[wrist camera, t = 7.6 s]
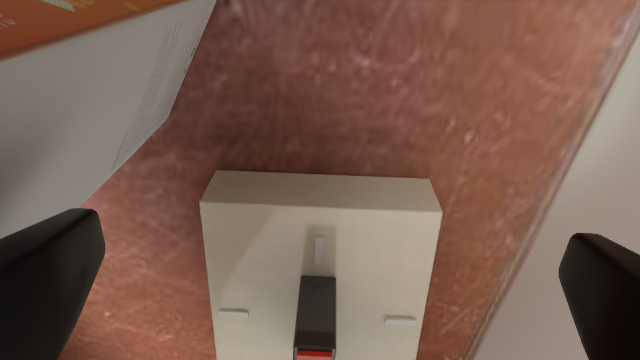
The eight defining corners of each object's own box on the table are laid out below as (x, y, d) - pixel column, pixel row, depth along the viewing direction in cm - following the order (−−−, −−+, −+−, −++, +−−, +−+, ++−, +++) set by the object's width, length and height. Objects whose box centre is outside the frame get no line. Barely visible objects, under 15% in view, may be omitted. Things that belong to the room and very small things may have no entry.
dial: (330, 355, 22) (329, 439, 18) (298, 353, 22) (290, 437, 18) (336, 276, 20) (336, 353, 16) (300, 274, 20) (292, 351, 16)
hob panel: (231, 350, 27) (219, 398, 24) (215, 169, 21) (197, 203, 18) (400, 358, 26) (408, 407, 24) (429, 178, 21) (444, 214, 18)
